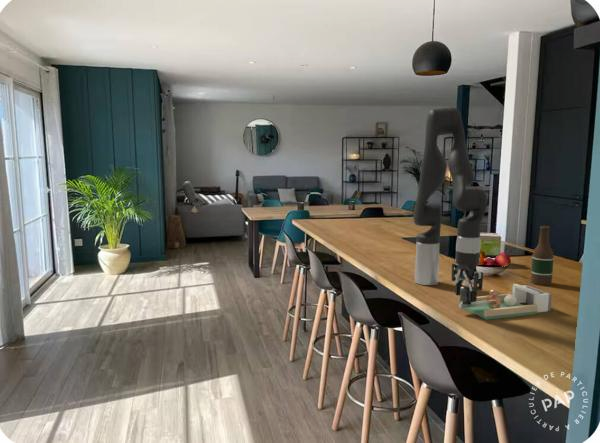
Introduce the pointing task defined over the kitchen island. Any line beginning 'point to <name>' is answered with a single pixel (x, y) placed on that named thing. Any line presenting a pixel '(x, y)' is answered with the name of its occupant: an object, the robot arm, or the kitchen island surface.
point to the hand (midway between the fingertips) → (465, 298)
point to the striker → (490, 301)
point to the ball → (510, 300)
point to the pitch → (502, 309)
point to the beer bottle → (542, 260)
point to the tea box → (490, 244)
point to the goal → (532, 297)
